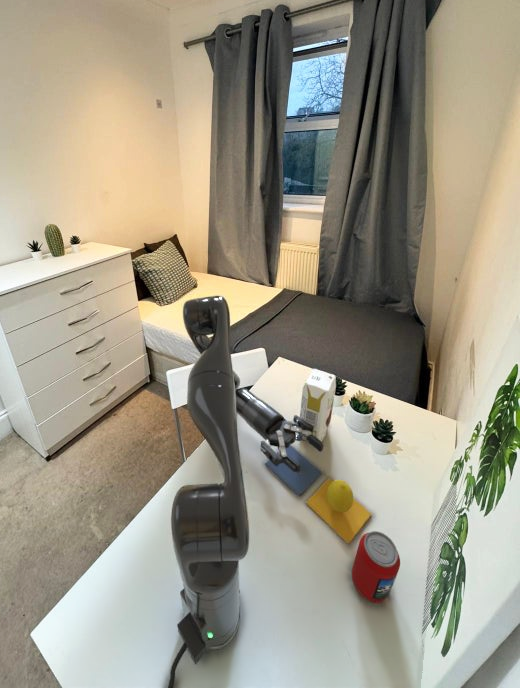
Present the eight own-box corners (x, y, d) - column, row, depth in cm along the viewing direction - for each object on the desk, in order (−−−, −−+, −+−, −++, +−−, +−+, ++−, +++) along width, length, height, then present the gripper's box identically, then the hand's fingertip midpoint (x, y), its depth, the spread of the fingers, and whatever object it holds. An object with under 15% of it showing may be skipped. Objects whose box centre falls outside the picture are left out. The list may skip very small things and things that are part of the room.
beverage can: (386, 614, 59) (400, 580, 53) (347, 589, 62) (356, 555, 57) (391, 574, 64) (404, 540, 59) (354, 554, 67) (364, 519, 62)
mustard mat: (348, 544, 69) (349, 542, 68) (306, 503, 76) (306, 501, 76) (370, 515, 74) (371, 513, 73) (328, 479, 81) (329, 477, 81)
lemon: (352, 521, 72) (358, 499, 69) (326, 517, 73) (330, 494, 70) (348, 496, 77) (353, 474, 73) (324, 492, 78) (327, 470, 74)
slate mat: (299, 496, 78) (299, 495, 78) (265, 464, 86) (265, 462, 85) (321, 473, 83) (322, 471, 83) (288, 444, 91) (288, 443, 90)
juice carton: (296, 435, 93) (301, 383, 85) (305, 414, 100) (311, 365, 92) (322, 446, 90) (330, 394, 82) (330, 424, 96) (339, 374, 88)
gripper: (242, 421, 83) (292, 466, 72) (280, 394, 91) (331, 431, 80) (242, 441, 86) (290, 488, 75) (279, 414, 94) (327, 452, 83)
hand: (311, 459), depth 77 cm, fingers open, 8 cm apart
